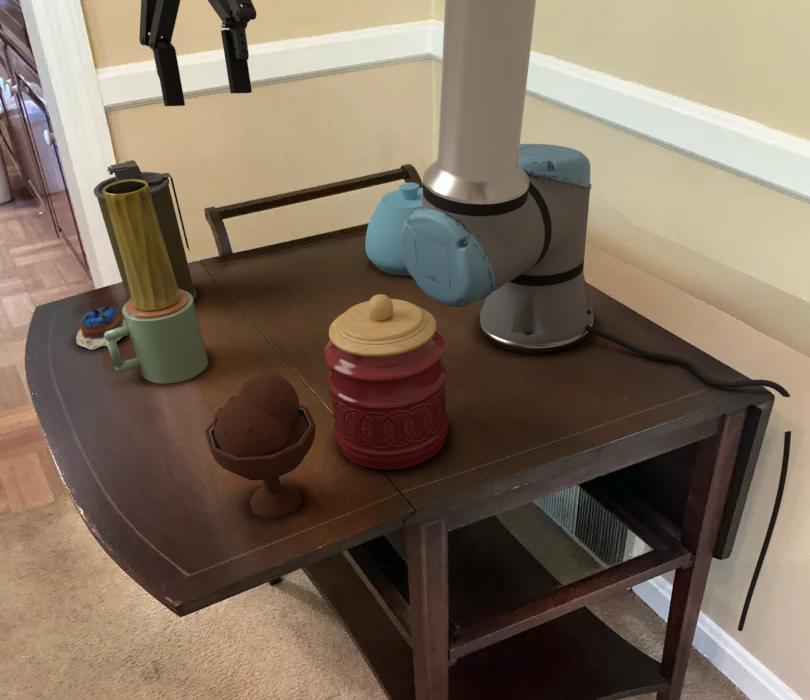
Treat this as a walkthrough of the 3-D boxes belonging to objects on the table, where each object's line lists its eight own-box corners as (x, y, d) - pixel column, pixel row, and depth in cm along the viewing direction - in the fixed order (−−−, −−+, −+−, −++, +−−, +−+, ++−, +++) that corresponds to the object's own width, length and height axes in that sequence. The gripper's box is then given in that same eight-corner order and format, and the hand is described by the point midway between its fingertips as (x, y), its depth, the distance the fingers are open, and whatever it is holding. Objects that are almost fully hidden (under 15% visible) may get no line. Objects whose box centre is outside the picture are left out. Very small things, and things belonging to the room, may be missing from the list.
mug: (217, 370, 112) (202, 304, 106) (129, 398, 108) (107, 332, 102) (195, 343, 118) (179, 279, 112) (111, 369, 114) (89, 304, 108)
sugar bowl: (375, 285, 129) (368, 209, 121) (359, 248, 140) (352, 175, 132) (471, 271, 130) (470, 194, 123) (447, 234, 141) (445, 162, 134)
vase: (169, 312, 105) (138, 196, 96) (124, 311, 106) (89, 195, 97) (188, 290, 109) (160, 177, 100) (145, 289, 111) (113, 177, 101)
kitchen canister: (315, 437, 99) (292, 296, 87) (403, 396, 104) (392, 258, 93) (380, 488, 91) (364, 340, 79) (472, 440, 96) (469, 295, 85)
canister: (134, 322, 125) (92, 183, 111) (123, 295, 132) (82, 161, 119) (206, 304, 128) (174, 167, 114) (191, 279, 135) (158, 147, 122)
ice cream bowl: (270, 460, 96) (246, 341, 86) (347, 491, 91) (330, 369, 81) (203, 511, 90) (168, 389, 80) (281, 548, 85) (254, 422, 75)
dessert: (109, 312, 126) (110, 288, 121) (138, 345, 126) (140, 322, 120) (63, 337, 122) (62, 313, 117) (93, 370, 122) (93, 349, 117)
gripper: (268, -133, 92) (296, 86, 101) (139, -77, 108) (173, 109, 116) (213, -146, 87) (247, 87, 96) (86, -84, 102) (126, 111, 111)
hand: (206, 100), depth 106 cm, fingers open, 13 cm apart
